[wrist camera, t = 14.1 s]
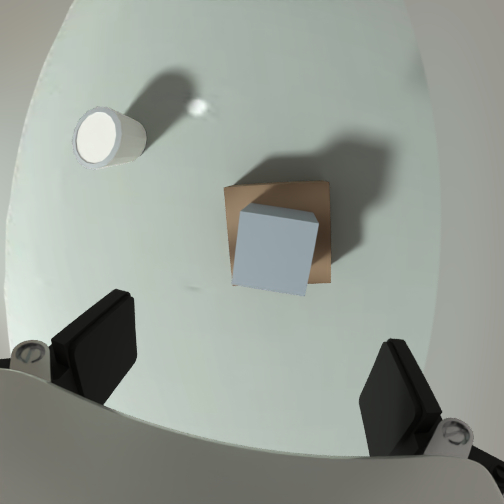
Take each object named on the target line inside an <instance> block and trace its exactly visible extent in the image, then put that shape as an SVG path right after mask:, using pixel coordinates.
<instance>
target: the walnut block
mask: <svg viewBox="0 0 504 504" xmlns="http://www.w3.org/2000/svg"><path fill="white" fill-rule="evenodd" d="M224 196H225V207H226V219H227V230H228V241H229V252H230V262H231V273H232V276H233V267H234V259H235V250H236V242H237V234H238V225H239V217H240V211H241V210H242V209H244V208H245V207H246V206H247V205H248V204H250V203H256V204H263V205H269V206H276V207H282V208H289V209H295V210H301V211H307V212H313V213H314V215H315V217H316V219H317V221H318V223H319V226H318V231H317V237H316V242H315V248H314V253H313V258H312V263H311V268H310V273H309V278H308V283H307V284H316V283H331V221H330V190H329V182H327V181H295V182H275V183H258V184H243V185H232V186H228V187H225V188H224ZM233 286H238V285H233Z"/></svg>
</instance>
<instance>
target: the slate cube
mask: <svg viewBox="0 0 504 504" xmlns="http://www.w3.org/2000/svg"><path fill="white" fill-rule="evenodd" d="M318 226H319V223H318V221H317V219H316V217H315V215H314V213H313V212H307V211H301V210H295V209H289V208H282V207H276V206H269V205H263V204H256V203H250V204H248V205H247V206H246V207H245V208H244V209H242V210H241V211H240V217H239V225H238V234H237V242H236V250H235V259H234V267H233V276H232V285H238V286H244V287H250V288H256V289H262V290H268V291H274V292H280V293H286V294H293V295H299V296H305V293H306V288H307V283H308V278H309V273H310V268H311V263H312V258H313V253H314V248H315V242H316V237H317V231H318Z"/></svg>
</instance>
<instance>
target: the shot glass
mask: <svg viewBox="0 0 504 504" xmlns="http://www.w3.org/2000/svg"><path fill="white" fill-rule="evenodd" d="M146 140H147V137H146V131H145V129H144V127H143V126H142V124H141V123H139V122H138V121H136V120H134V119H132V118H130V117H128V116H126V115H124V114H121V113H119V112H117V111H115V110H113V109H110V108H108V107H95V108H93V109H91V110H88V111H87V112H86V113H85V114H84V115H83V116H82V117H81V118H80V119H79V121H78V123H77V125H76V127H75V129H74V134H73V139H72V145H73V153H74V155H75V157H76V159H77V161H78V163H80V164H81V165H82V166H83V167H84V168H87V169H92V170H96V169H101V168H106V167H110V166H115V165H120V164H125V163H129V162H132V161H135V160H136V159H137V158H138V157H139V156H141V154H142V152H143V150H144V149H145V145H146Z"/></svg>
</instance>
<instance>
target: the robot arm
mask: <svg viewBox="0 0 504 504" xmlns="http://www.w3.org/2000/svg"><path fill="white" fill-rule="evenodd" d="M51 342H52V344H51V345H50V346H49V347H48V346H47V345H46V344H45V343H43V342H42V341H38V340H28V341H24V342H22V343H20V344H18V345H17V346H16V347H15V348H14V349H13V351H12V354H11V358H9V359H0V504H504V462H503V461H501V460H499V459H497V458H496V457H494V456H492V455H490V454H488V453H486V452H484V451H482V450H480V449H478V448H476V447H475V446H473V445H472V443H473V439H474V436H473V431H472V430H471V429H470V427H469V426H468V425H467V424H466V423H465V422H463V421H461V420H459V419H456V418H446V419H444V420H442V418H441V416H440V415H441V413H442V410H441V408H440V406H439V404H438V402H437V400H436V398H435V396H434V394H433V392H432V390H431V389H430V386H429V384H428V383H427V381H426V379H425V377H424V375H423V373H422V371H421V369H420V367H419V366H418V364H417V362H416V360H415V358H414V356H413V355H412V353H411V351H410V349H409V348H408V346H407V344H406V342H405V341H404V340H401V339H391V338H390V339H388V341H387V342H383V344H382V346H381V348H380V351H379V353H378V356H377V358H376V361H375V363H374V366H373V368H372V370H371V373H370V375H369V377H368V379H367V382H366V384H365V386H364V388H363V390H362V393H361V395H360V398H359V406H360V410H361V415H362V420H363V424H364V429H365V434H366V439H367V444H368V449H369V454H370V457H365V456H327V455H312V454H300V453H290V452H282V451H274V450H267V449H260V448H254V447H248V446H242V445H237V444H231V443H226V442H222V441H217V440H212V439H208V438H204V437H200V436H196V435H192V434H188V433H184V432H180V431H177V430H173V429H170V428H166V427H163V426H160V425H157V424H153V423H150V422H147V421H144V420H141V419H138V418H135V417H133V416H130V415H127V414H124V413H122V412H119V411H116V410H114V409H111V408H109V407H106V406H104V403H105V402H106V401H107V399H108V398H109V396H110V395H111V394H112V392H113V391H114V390H115V388H116V387H117V386H118V384H119V383H120V382H121V380H122V379H123V378H124V376H125V375H126V374H127V372H128V371H129V370H130V368H131V367H132V366H133V364H134V363H135V361H136V358H137V346H136V331H135V309H134V298H133V297H131V295H130V293H129V292H126V291H122V290H118V289H114V290H113V291H112V292H110V293H109V294H108V295H106V296H105V297H104V298H102V299H101V300H100V301H98V302H97V303H96V304H95V305H93V306H92V307H91V308H89V309H88V310H87V311H86V312H84V313H83V314H82V315H80V316H79V317H78V318H77V319H75V320H74V321H73V322H72V323H70V324H69V325H68V326H67V327H65V328H64V329H63V330H62V331H60V332H59V333H58V334H57V335H55V336H54V337H53V338H52V339H51Z"/></svg>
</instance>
